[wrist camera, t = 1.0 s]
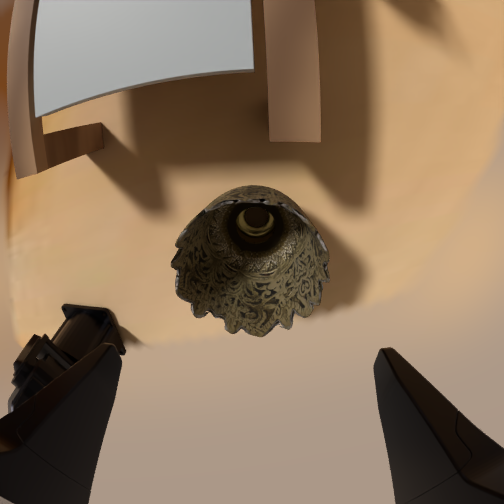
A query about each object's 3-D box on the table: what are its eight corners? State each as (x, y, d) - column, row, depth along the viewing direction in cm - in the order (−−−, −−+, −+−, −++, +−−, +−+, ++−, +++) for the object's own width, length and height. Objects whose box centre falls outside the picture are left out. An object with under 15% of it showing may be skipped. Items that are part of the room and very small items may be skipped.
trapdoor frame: (83, 152, 18) (16, 179, 11) (83, -28, 10) (29, -52, 3) (299, 129, 17) (320, 142, 10) (285, -71, 9) (291, -128, 2)
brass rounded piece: (330, 204, 19) (363, 262, 12) (270, 278, 22) (269, 355, 15) (240, 143, 18) (221, 166, 11) (186, 228, 21) (148, 292, 14)
